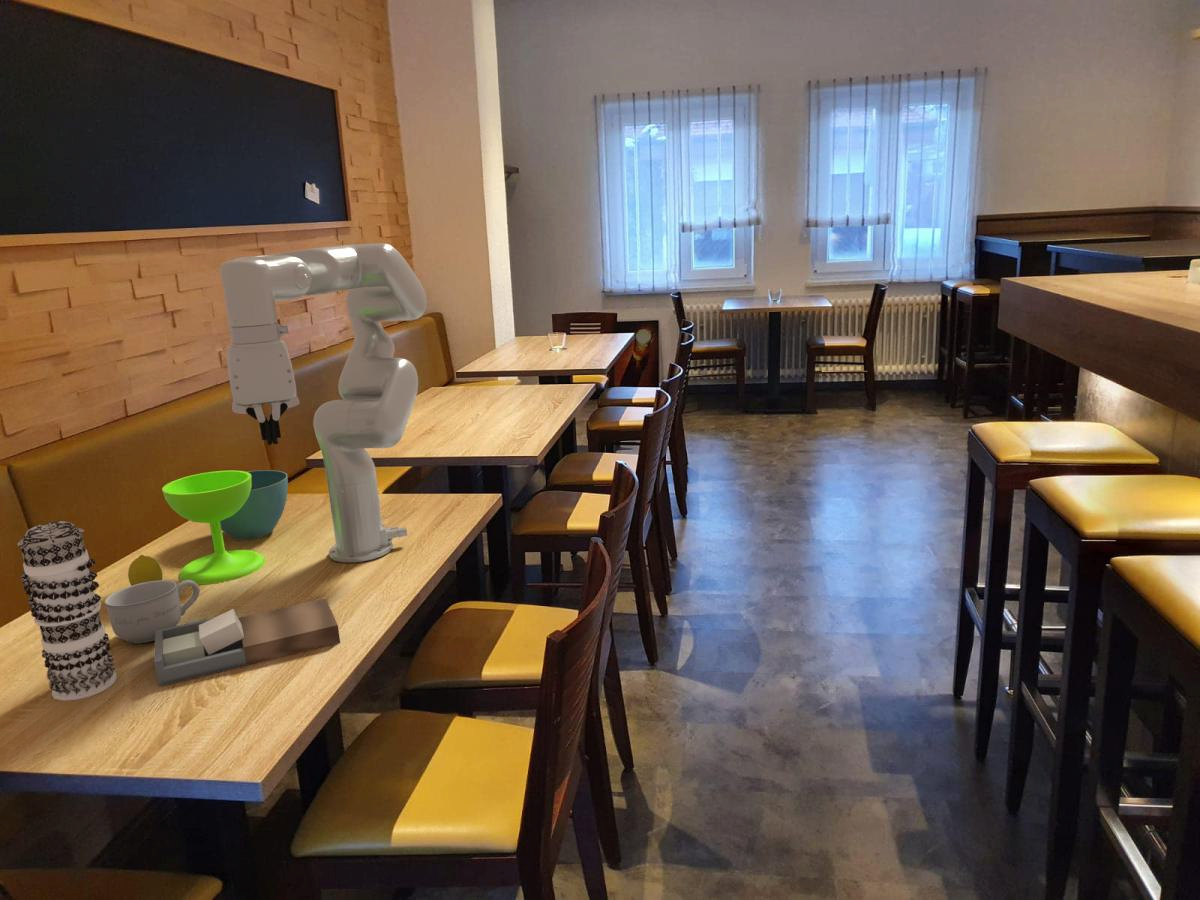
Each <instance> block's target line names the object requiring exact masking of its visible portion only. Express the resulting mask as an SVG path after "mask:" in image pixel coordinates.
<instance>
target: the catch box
mask: <svg viewBox="0 0 1200 900" xmlns="http://www.w3.org/2000/svg"><path fill="white" fill-rule="evenodd" d="M235 613H236V615H237V617H238V618H239V615H238V611H237V612H235ZM215 617H216V616H213V617H210V618H205V619H201V620H195V621H192V622H191V621H190V622H186V623H183V624H182V623H181V624H177V625H176V626H172V627H168V628H163V629H158V630H155V640H154V655H153V657H154V659H153V660H154V667H155V671H156V676H157V682H158V687H159V688H160V687H163V686H167V685H172V684H175V683H180V682H184V681H188V680H191V679H196V678H199V677H200V678H201V677H204V676H209V675H212V674H213V675H214V674H216V673H217V674H218V673H220V672H225V671H229V670H232V669H237V668H240V667H241V668H242V667H246V666H247V665H246V659H245V654H244V648H243V643H242V639H240V640H238V641H236V642H234V643H232V644H230V645H228V646H226V647H224V648H222V649H220V650H218V651H216V652H214V653H212V654H210V655H208V653H207V651H206V649H205V656H206V657H202V658H198V659H194V660H190V661H185V662H181V663H177V664H173V665H169V666H165V663H164V658H163V639H168V638H172V637H176V636H181V635H185V634H190V633H194V632H198V631H199V625H200V624H202V623H205V622H207V621H209V620H211V619H213V618H215Z"/></svg>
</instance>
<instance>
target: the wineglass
mask: <svg viewBox="0 0 1200 900" xmlns="http://www.w3.org/2000/svg"><path fill="white" fill-rule="evenodd" d="M251 487H252V481H251V474H250V473H248V471H244V470H218V471H217V470H216V471H208V472H201V473H196V474H192V475H188V476H184V477H181V478H179V479H178V478H177V479H176V480H173V481H170V482H168V483H166V484H165V485H164V486H163V487H162V488H161V489H162V490H161V491H162V494H163V496H164V499H165V501H166V503H167V504H168V505H169V507H170V508H171V509H172V510H173V511H174V512H175V513H176V514H178V515H179V516H180V517H181V518H183V519H186V520H189V521H191V522H195V523H199V524H201V523H202V524H209V527H210V533H211V538H212V545H213V550H214V552H213V553H211V554H207V555H204V556H202V557H199V558H197V559H194V560H192V561H190V562H189V563H187V564H186V565H185V566H184V567H183V568H181V570H180V571H179V573H178V574H179V576H178V579H179V580H180V581H181V582H182V581H185V580H192V581H194V582H195V583H197V585H213V584H212V583H214V584H220V583H219V582H221V583H225V582H224V581H226V582H230V580H231V581H234V580H237V579H240V578H243V577H244V578H245V577H246V576H249V575H251V574H254V573H255V572H257V571H259V570H260V569H261V568H262V567H264V565H265V564H264V563H266V559H265V557H264V555H262V554H260V553H259V552H257V551H254V550H248V549H234V550H232V549H231V550H226V549H225V547H226V546H225V542H224V536H223V531H222V530H221V524H220V521H222V520H224V519H226V518H229V517H231V516H233V515H234V514H235V513H236V512H237V511H239V510H240V509H241V508H242V507H243V505H244V504H245V502H246V501H247V499H248V497H249V494H250V491H251ZM258 569H259V570H258ZM254 571H255V572H254Z"/></svg>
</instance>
